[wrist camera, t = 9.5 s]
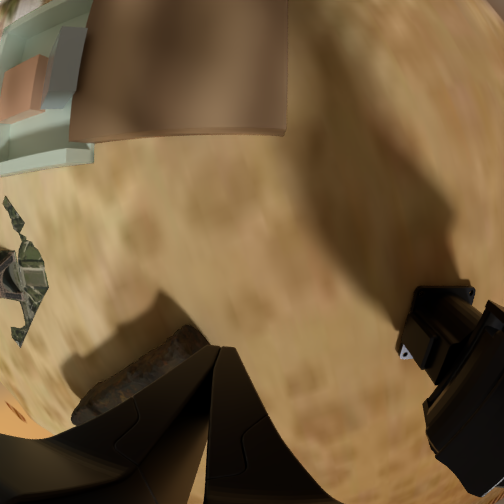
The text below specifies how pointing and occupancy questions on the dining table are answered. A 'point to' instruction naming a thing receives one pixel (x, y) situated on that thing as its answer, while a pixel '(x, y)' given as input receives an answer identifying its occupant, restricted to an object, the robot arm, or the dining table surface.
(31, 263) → the eiffel tower figurine
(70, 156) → the tray
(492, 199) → the dining table surface
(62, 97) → the tile slate
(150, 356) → the hand tool
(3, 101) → the tile terracotta
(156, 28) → the plate
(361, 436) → the dining table surface
